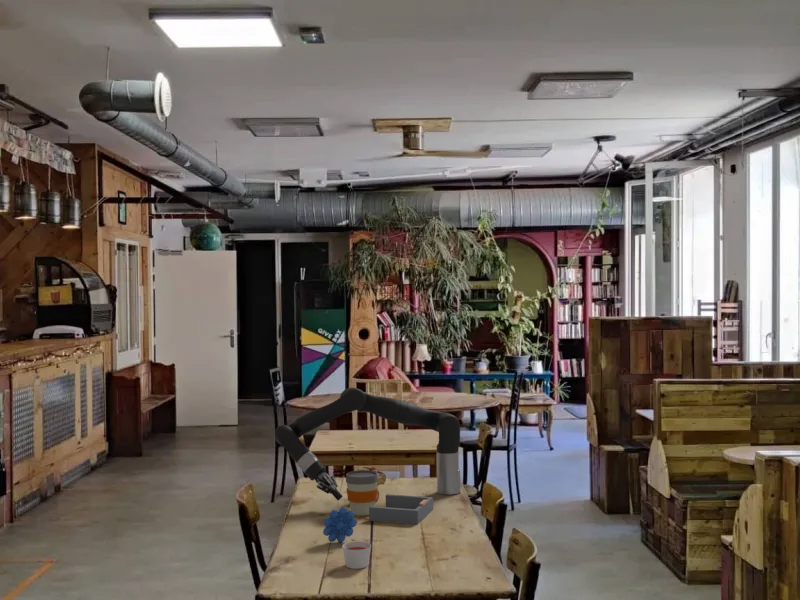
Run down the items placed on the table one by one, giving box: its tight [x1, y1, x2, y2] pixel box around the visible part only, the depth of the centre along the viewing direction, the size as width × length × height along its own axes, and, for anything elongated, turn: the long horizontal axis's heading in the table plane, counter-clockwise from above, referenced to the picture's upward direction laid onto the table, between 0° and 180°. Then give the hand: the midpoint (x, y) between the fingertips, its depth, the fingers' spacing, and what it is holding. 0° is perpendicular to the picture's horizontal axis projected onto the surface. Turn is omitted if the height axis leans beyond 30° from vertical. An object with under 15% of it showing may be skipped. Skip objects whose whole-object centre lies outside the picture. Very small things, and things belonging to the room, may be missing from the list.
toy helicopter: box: [362, 466, 387, 503], centre depth 342 cm, size 8×21×14 cm, turn 159°
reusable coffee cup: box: [345, 469, 379, 517], centre depth 318 cm, size 13×13×15 cm
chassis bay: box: [368, 493, 434, 525], centre depth 313 cm, size 19×20×6 cm
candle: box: [341, 540, 372, 570], centre depth 257 cm, size 9×9×6 cm
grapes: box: [322, 506, 358, 543], centre depth 282 cm, size 12×7×12 cm, turn 98°
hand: (340, 498), depth 321 cm, fingers closed
